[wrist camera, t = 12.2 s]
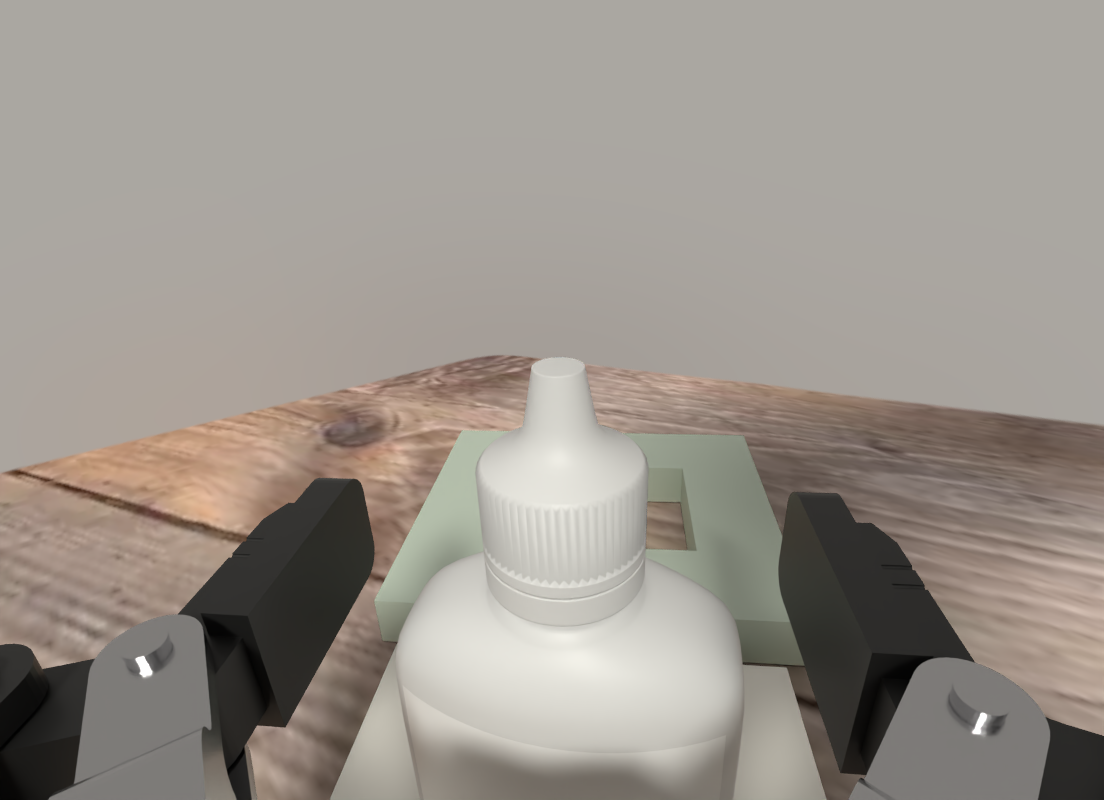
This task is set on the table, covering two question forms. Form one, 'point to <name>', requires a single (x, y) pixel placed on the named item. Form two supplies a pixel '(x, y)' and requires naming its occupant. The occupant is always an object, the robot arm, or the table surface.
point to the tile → (763, 768)
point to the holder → (710, 559)
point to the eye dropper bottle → (568, 632)
